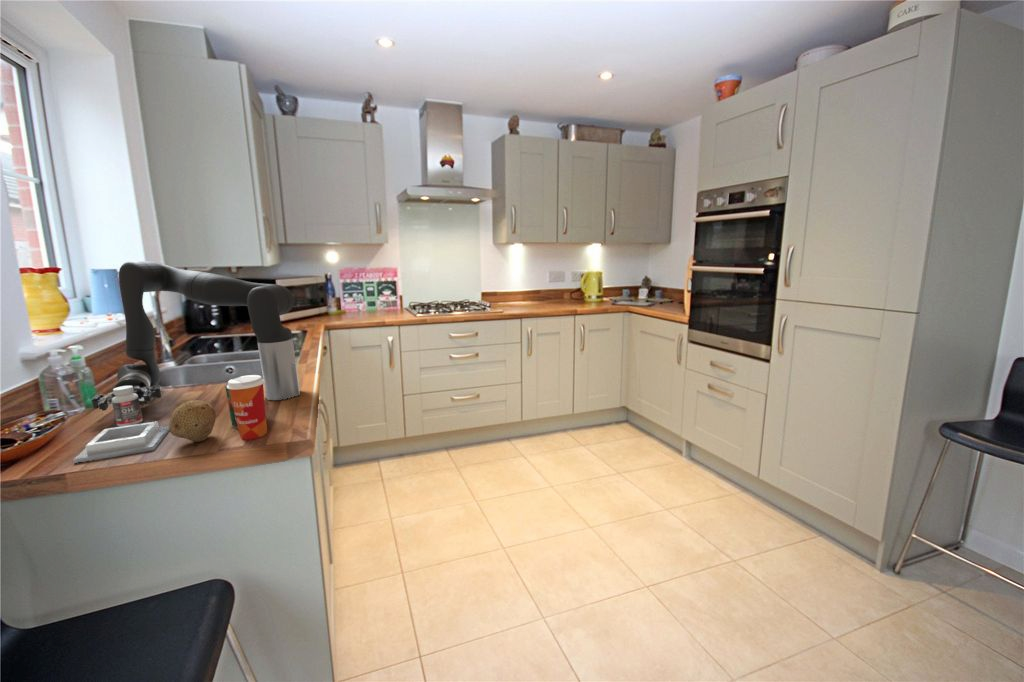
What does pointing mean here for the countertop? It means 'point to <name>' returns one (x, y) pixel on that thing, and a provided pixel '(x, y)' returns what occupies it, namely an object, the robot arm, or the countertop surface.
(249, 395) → the paper cup
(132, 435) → the duct collar
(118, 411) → the pill bottle
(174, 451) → the countertop surface
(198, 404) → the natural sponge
